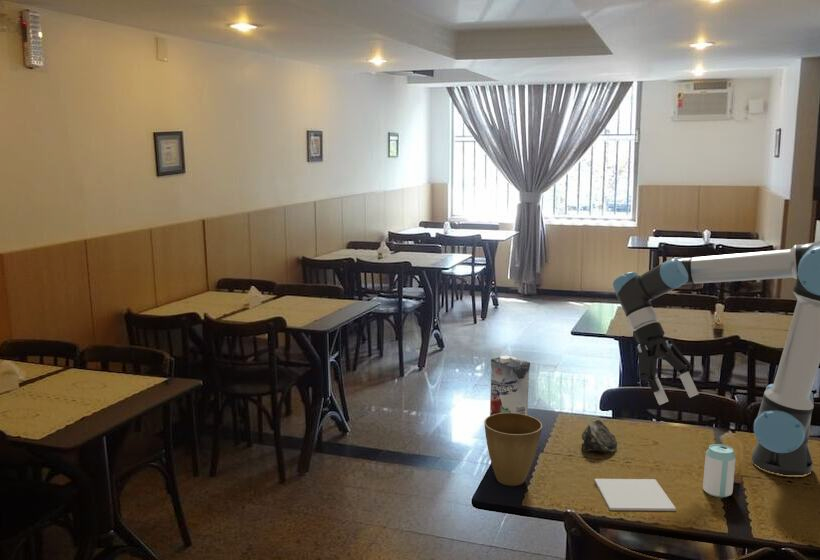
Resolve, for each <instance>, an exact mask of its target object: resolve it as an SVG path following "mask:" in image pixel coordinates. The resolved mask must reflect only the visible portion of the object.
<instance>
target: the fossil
mask: <svg viewBox="0 0 820 560" xmlns="http://www.w3.org/2000/svg"><path fill="white" fill-rule="evenodd" d="M581 439H582V441H583V445H582V451H583V452H584V451H585V452H589V451H592V452H593V451H594V452H596V451H601V452H604V453H605V454H613V453H615V452H616V450H617V448H618V443H617V440H616V437H615V435H614V434H613V433H612V432H611V431H610V430H609V428H608V427H607V426H606V424H604V423H603V421H601V420H600V419H594V420H591V422H590V423H589V424H588V425H587V427H586V428H585V429H584V431H583V432H582V434H581Z"/></svg>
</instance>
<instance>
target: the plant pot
mask: <svg viewBox="0 0 820 560" xmlns="http://www.w3.org/2000/svg"><path fill="white" fill-rule="evenodd" d="M483 423H484V433H485V438H486V445H487V450H488V455H489V459H490V463H491V466H492V469H493V472H494V473H493V474H494V475H495V478H496V480H497V482H499V483H500V484H502V485H505V486H511V487H512V486H513V487H514V486H515V487H516V486H520V485H522V484H524V483H525V482H526V479H527V477H528V475H529V472H530V470H531V468H532V465H533V463H534V460H535V457H536V455H537V454H536V453H537V449H538V447H539V443H540V440H541V439H540V438H541V434H542V429H543V423H542V422H541V421H540V420H539V419H537V418H535V417H533V416H531V415H528V414H527V415H525V414H519V413H497V414H493V415H491V416H490V415H489V416H487V417H486V418H485V419H484V422H483Z"/></svg>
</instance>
